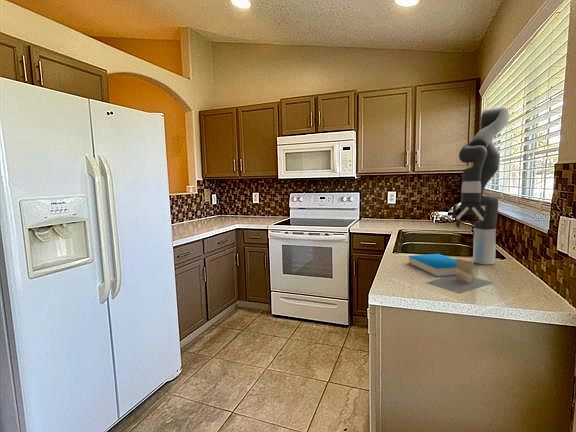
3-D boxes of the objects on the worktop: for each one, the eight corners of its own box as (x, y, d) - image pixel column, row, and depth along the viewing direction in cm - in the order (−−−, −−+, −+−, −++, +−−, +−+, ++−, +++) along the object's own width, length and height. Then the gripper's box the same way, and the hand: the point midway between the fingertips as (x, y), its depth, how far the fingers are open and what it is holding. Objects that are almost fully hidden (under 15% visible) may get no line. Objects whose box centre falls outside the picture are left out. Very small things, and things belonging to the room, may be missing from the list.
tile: (459, 278, 137) (460, 257, 136) (473, 282, 132) (474, 260, 131) (455, 279, 136) (456, 258, 135) (469, 283, 131) (470, 261, 130)
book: (436, 268, 140) (407, 255, 165) (436, 277, 141) (407, 263, 165) (473, 265, 142) (439, 252, 167) (472, 274, 143) (439, 261, 167)
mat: (459, 274, 144) (459, 273, 144) (494, 284, 131) (494, 282, 131) (425, 284, 134) (425, 282, 134) (459, 295, 121) (459, 293, 121)
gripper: (489, 192, 145) (487, 228, 146) (453, 191, 151) (451, 226, 153) (490, 192, 138) (488, 230, 139) (452, 191, 145) (451, 228, 146)
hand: (469, 228), depth 146 cm, fingers open, 8 cm apart
